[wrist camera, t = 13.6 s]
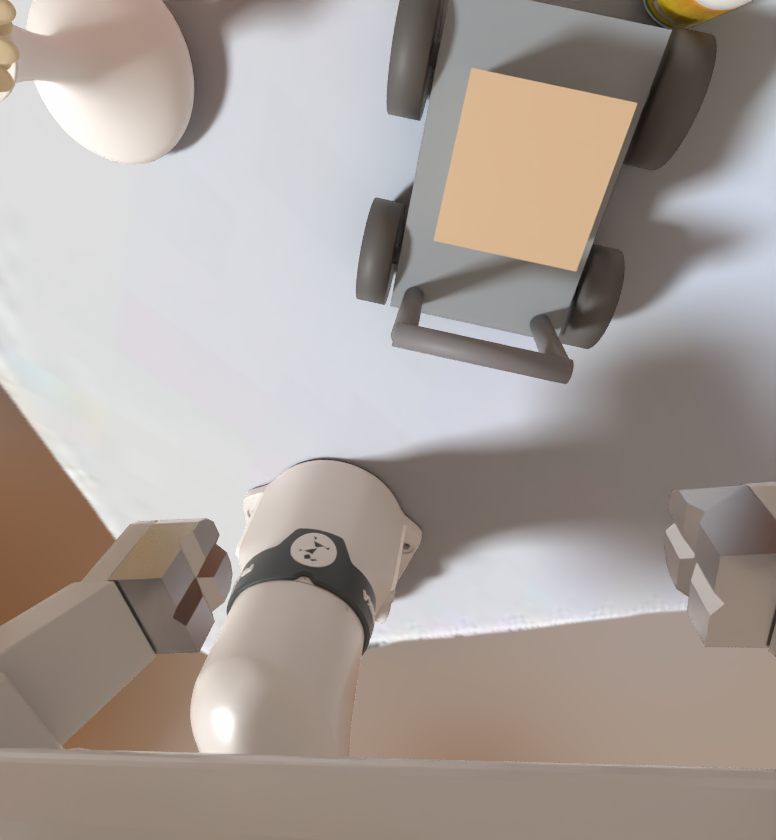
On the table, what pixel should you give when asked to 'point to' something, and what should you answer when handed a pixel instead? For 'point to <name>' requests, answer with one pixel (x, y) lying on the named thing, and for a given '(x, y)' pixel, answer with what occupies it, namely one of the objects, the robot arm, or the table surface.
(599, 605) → the table surface
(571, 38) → the trolley
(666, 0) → the supplement bottle
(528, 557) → the table surface
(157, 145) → the flower in vase
